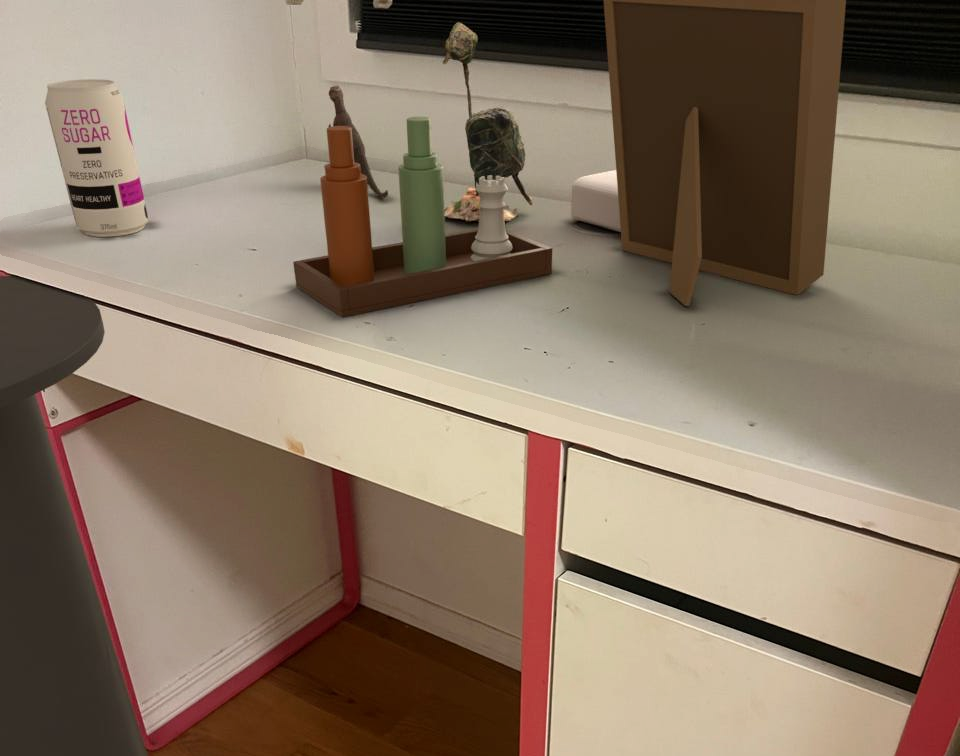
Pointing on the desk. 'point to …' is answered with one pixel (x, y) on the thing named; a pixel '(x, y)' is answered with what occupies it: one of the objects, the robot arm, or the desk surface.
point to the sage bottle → (421, 201)
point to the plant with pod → (485, 136)
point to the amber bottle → (346, 212)
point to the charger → (597, 200)
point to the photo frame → (726, 135)
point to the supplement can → (97, 156)
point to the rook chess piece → (491, 220)
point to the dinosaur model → (358, 146)
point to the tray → (422, 274)
